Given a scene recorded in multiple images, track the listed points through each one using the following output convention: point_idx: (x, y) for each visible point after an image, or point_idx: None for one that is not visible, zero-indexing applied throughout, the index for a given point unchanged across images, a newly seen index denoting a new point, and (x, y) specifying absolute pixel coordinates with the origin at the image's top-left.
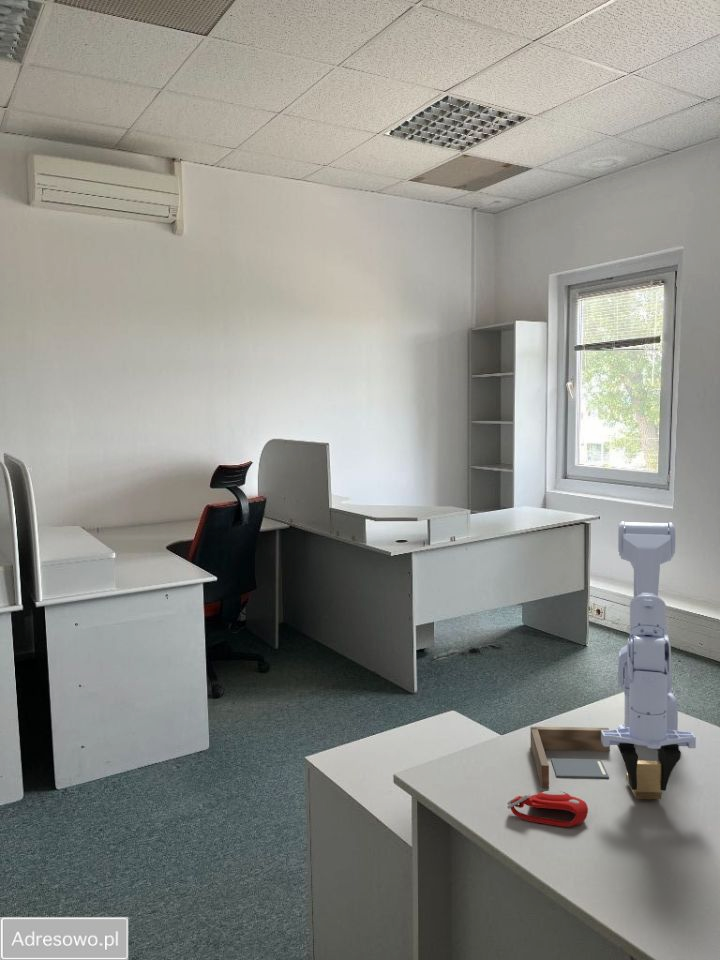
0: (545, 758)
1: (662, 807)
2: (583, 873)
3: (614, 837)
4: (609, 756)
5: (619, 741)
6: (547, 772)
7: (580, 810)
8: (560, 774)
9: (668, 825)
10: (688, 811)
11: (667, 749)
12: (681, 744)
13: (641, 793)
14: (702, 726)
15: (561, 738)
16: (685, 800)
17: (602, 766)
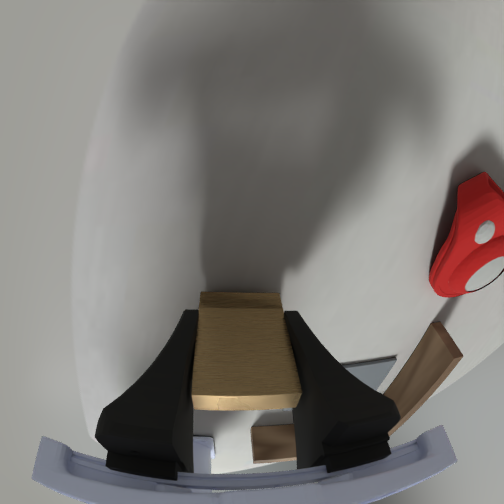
0: (439, 379)
1: (202, 265)
2: (489, 18)
3: (413, 111)
4: (258, 417)
5: (411, 464)
6: (448, 346)
7: (483, 199)
8: (388, 364)
9: (217, 162)
10: (130, 246)
11: (160, 458)
12: (94, 464)
13: (264, 304)
14: None
15: None
16: (129, 297)
17: None
